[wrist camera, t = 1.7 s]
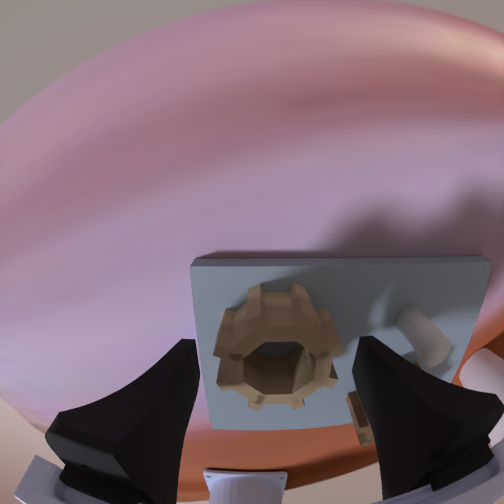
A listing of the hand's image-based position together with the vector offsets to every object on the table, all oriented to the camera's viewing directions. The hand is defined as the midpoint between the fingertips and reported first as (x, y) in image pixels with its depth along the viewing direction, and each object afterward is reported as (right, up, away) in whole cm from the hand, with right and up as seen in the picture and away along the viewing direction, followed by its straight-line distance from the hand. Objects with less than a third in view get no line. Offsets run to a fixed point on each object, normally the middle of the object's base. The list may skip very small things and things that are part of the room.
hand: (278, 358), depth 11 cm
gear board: (+5, -1, +4) cm, 7 cm away
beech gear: (0, +1, +2) cm, 2 cm away
